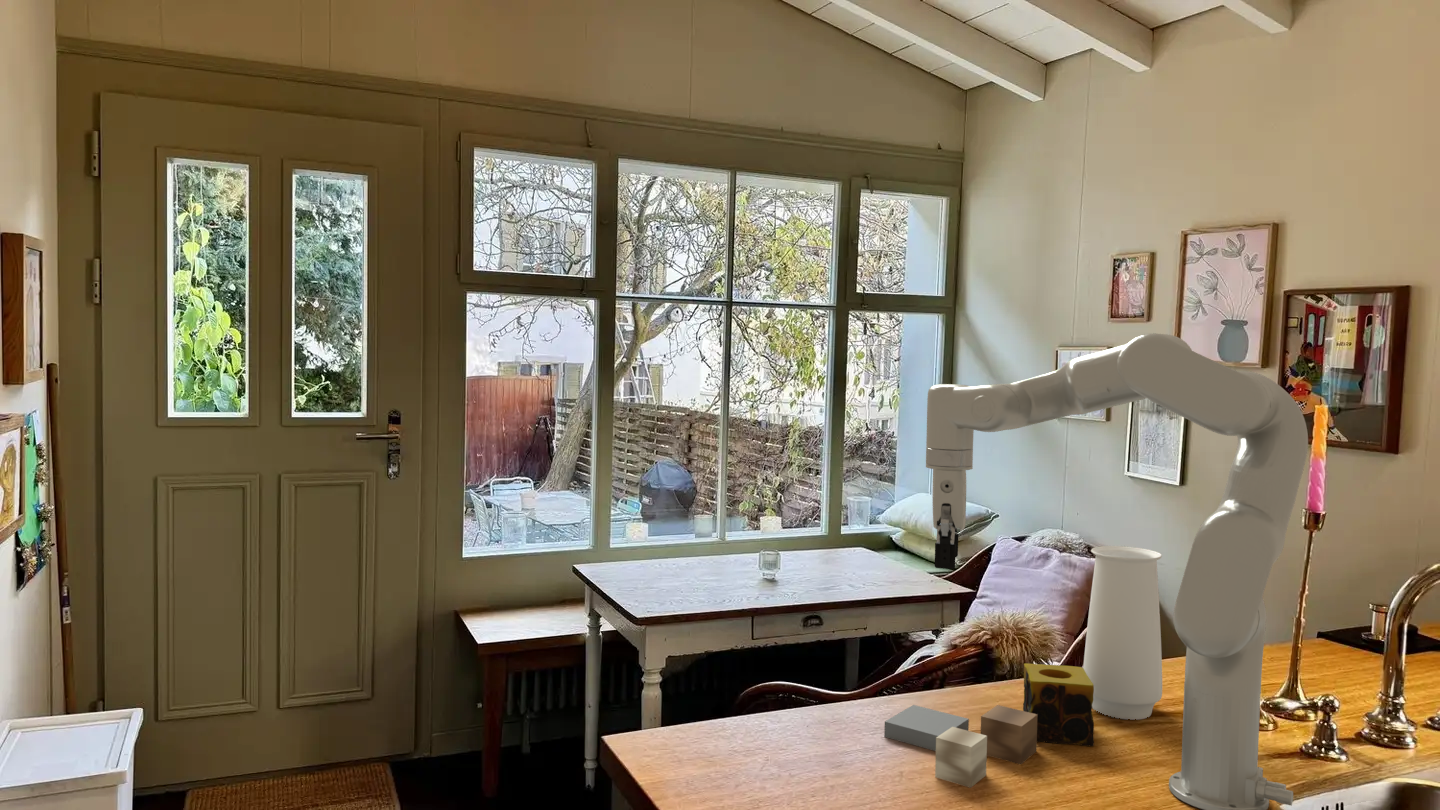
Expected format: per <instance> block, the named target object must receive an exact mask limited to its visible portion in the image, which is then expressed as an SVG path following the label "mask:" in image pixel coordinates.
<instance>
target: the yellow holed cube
mask: <svg viewBox="0 0 1440 810" xmlns="http://www.w3.org/2000/svg"><path fill="white" fill-rule="evenodd" d="M1093 693H1094V685H1093V683H1092V682H1091V680H1090V679H1089V677H1088V676H1087V674H1086V672H1085V670H1084V668H1083V666H1082V667H1081V666H1073V665H1062V664H1061V665H1059V664H1058V665H1057V664H1044V663H1043V664H1042V663H1041V664H1040V663H1028V662H1027V663H1023V703H1022V711H1025V712H1029V713H1033V714H1038V715H1037V743H1038V742H1039V743H1047V744H1049V743H1050V744H1051V743H1052V744H1061V745H1062V744H1063V745H1069V744H1070V745H1071V744H1072V745H1078V746H1086V747H1093V746H1094V745H1095V744H1094V734H1095V733H1094V732H1095V731H1094V730H1095V723H1094V722H1095V721H1094V717H1093V716H1094V715H1093V708H1092V703H1093Z"/></svg>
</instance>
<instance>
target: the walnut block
mask: <svg viewBox="0 0 1440 810" xmlns="http://www.w3.org/2000/svg"><path fill="white" fill-rule="evenodd" d="M1037 715H1038V714H1033V713H1029V712H1025V711H1023V710H1020V709H1016V708H1012V707H1007V706H1004V705H1000V704H997V705H995V706H993V708H991V709H990V710H988V711H987V712H985V713H984V714H982V715H981V716H980V734H982V735H986V736H987V757H992V758H996V759H998V760H1002V761H1006V762H1009V763H1013V764H1017V765H1022V764H1023V763H1024V762H1026V761H1027V760H1028V759H1029V758H1031V757H1032V756H1033V755H1034V754H1035V753H1036V752H1037V750H1038V749H1037V747H1038V746H1037V745H1038V742H1037Z"/></svg>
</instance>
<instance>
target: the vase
mask: <svg viewBox="0 0 1440 810" xmlns="http://www.w3.org/2000/svg"><path fill="white" fill-rule="evenodd" d="M1090 552H1091V553H1092V554H1093V555H1095V558H1094V566H1093V575H1092V584H1091V591H1090V601H1089V609H1088V618H1087V627H1086V636H1085V647H1084V655H1083V666H1082V667H1083V668H1084V670H1085V672H1086V674H1087V676H1088V677H1089V679H1090V680H1091V682H1092V683H1093V685H1094V693H1093V703H1092V710H1094V711H1095V710H1096V711H1095V712H1097V711H1098V712H1097V713H1099V712H1100V713H1099V714H1101V713H1102V714H1101V715H1103V714H1104V716H1106V715H1108V716H1107V717H1110V716H1111V717H1110V718H1114V717H1115V719H1119V718H1120V720H1128V719H1130V720H1133V721H1134V720H1135V719H1136V720H1137V721H1138V720H1144V719H1147V717H1148V718H1149V717H1151V716H1152V713H1153V708H1154V706H1155V704H1156V703H1158V702H1159V701H1161V699H1162V698H1163V697H1162V696H1163V660H1162V658H1163V657H1162V655H1163V654H1162V637H1161V636H1162V634H1161V633H1162V632H1161V630H1162V629H1161V616H1160V615H1161V614H1160V612H1161V611H1160V596H1159V593H1160V592H1159V579H1158V577H1159V576H1158V562H1157V561H1158V560H1160V559H1162V557H1163V556H1162V553H1160V552H1158V551H1155V550H1152V549H1147V548H1144V547H1143V548H1141V547H1136V546H1125V545H1124V546H1123V545H1101V546H1095V547H1093V548H1091V549H1090Z"/></svg>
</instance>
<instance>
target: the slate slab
mask: <svg viewBox="0 0 1440 810" xmlns="http://www.w3.org/2000/svg"><path fill="white" fill-rule="evenodd" d="M969 723H970V719H969V718H967V717H963V716H959V715H955V714H951V713H947V712H943V711H939V710H935V709H931V708H928V707H923V706H920V705H916V704H913V705H911V706H909V707H907V708H906V709H904V710H902V711H900V712H899V713H897V714H895V715H894V716H891V717H889V718H888V719H887V720H885V721H884V731H883V732H884V734H883V736H884V737H883V738H888V739H891V740H894V741H899V742H903V743H906V744H909V745H912V746H915V747H916V746H917V747H920V748H924V749H927V750H931V751H934V752H936V737H938V736H939V735H941V734H942V733H944V732H945V731H947V730H948V729H950V728H951V727H956V728H959V729H963V730H967V731H969V725H970V724H969Z"/></svg>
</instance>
